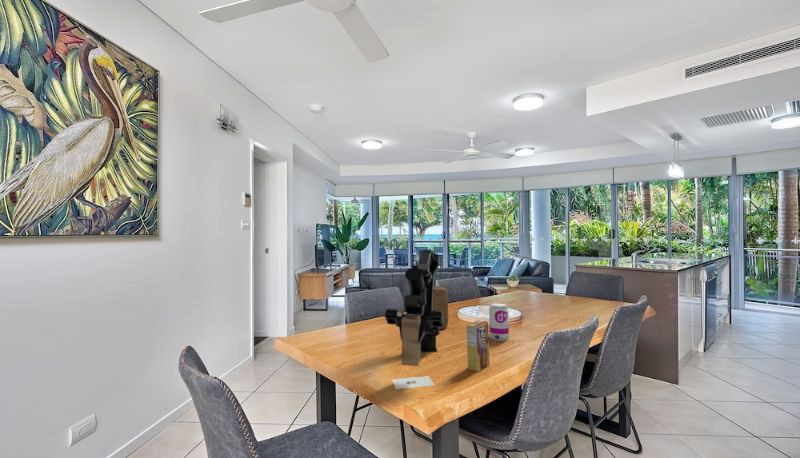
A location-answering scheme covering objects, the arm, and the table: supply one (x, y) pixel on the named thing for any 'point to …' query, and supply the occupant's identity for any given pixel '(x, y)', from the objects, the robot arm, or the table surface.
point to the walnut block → (411, 340)
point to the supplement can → (498, 322)
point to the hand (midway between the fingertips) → (410, 341)
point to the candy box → (478, 345)
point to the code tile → (412, 382)
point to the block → (441, 303)
